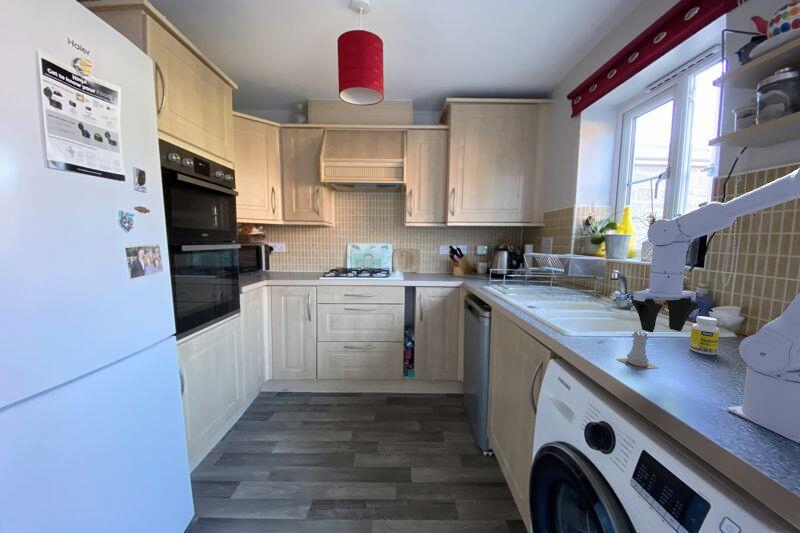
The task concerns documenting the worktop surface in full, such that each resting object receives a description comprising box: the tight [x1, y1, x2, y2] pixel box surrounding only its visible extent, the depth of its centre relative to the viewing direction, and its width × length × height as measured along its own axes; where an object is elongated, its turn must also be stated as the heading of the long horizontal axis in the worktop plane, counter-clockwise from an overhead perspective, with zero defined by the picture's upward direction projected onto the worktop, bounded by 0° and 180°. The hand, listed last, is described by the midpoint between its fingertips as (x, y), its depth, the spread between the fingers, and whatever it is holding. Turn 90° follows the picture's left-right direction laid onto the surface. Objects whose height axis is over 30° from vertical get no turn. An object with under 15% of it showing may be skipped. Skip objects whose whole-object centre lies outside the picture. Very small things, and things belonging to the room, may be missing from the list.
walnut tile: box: [615, 357, 659, 370], centre depth 74 cm, size 6×6×1 cm
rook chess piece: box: [626, 331, 650, 367], centre depth 73 cm, size 4×4×8 cm
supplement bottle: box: [688, 315, 720, 356], centre depth 82 cm, size 5×5×10 cm
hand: (661, 330), depth 68 cm, fingers open, 7 cm apart
